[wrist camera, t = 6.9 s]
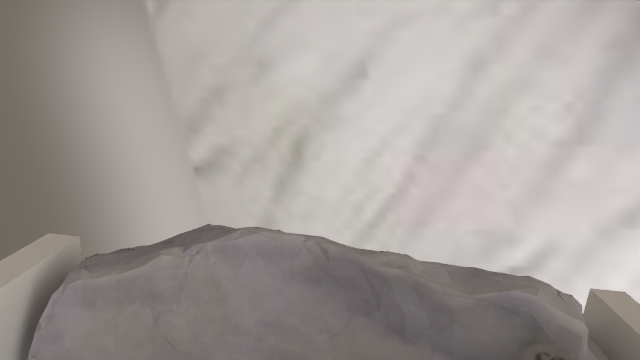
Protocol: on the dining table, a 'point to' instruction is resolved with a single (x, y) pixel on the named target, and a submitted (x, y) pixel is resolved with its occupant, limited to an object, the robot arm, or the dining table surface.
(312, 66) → the dining table surface
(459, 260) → the dining table surface
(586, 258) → the dining table surface
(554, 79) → the dining table surface
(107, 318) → the stone block
